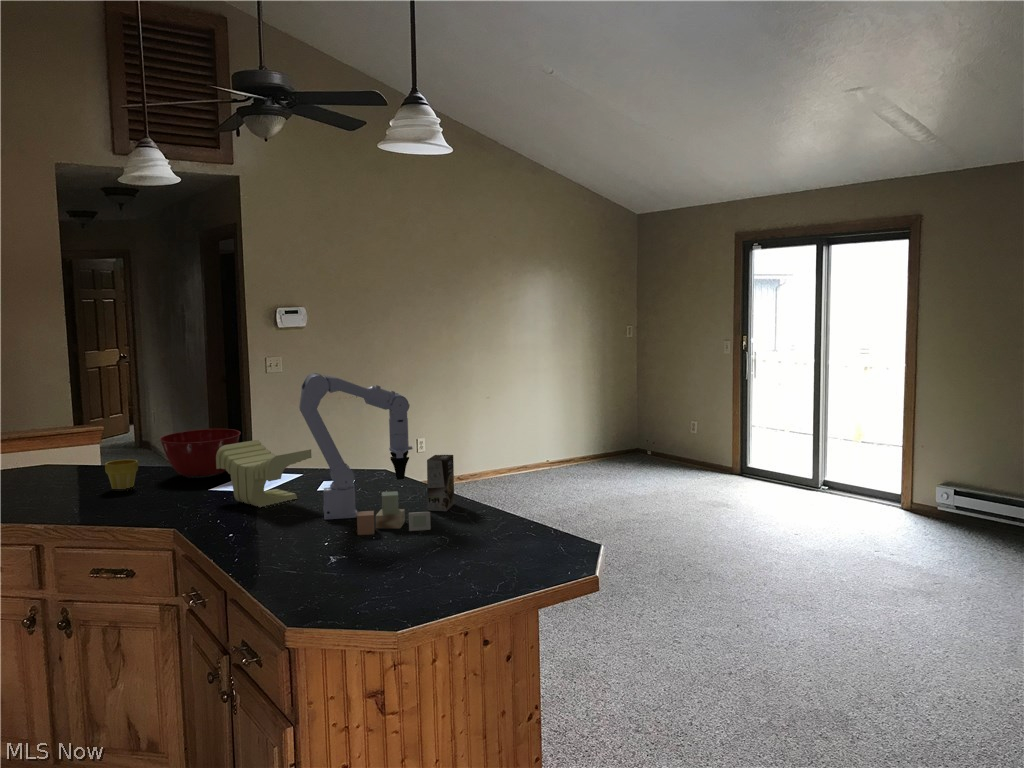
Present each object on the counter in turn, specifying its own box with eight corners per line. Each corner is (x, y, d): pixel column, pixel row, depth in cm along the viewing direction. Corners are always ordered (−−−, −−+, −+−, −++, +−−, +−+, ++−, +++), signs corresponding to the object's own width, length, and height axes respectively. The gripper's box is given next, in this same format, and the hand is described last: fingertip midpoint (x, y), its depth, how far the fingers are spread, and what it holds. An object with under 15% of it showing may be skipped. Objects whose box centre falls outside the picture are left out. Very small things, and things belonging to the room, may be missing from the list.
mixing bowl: (194, 487, 281) (192, 444, 279) (145, 478, 296) (143, 437, 294) (258, 471, 305) (256, 432, 303) (210, 464, 320) (208, 426, 318)
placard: (409, 531, 224) (408, 513, 223) (409, 529, 225) (408, 512, 224) (430, 529, 224) (430, 512, 224) (430, 528, 226) (429, 511, 225)
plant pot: (129, 484, 286) (128, 457, 285) (145, 488, 280) (143, 460, 279) (101, 490, 278) (99, 462, 277) (116, 494, 272) (114, 466, 270)
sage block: (382, 514, 227) (382, 495, 227) (382, 510, 232) (381, 492, 231) (398, 513, 228) (398, 495, 228) (398, 509, 233) (397, 491, 232)
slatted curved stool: (218, 499, 262) (215, 446, 260) (260, 490, 275) (258, 439, 273) (270, 514, 243) (267, 457, 241) (313, 503, 255) (311, 449, 254)
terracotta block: (357, 535, 221) (356, 516, 220) (358, 530, 225) (357, 511, 224) (374, 534, 221) (373, 515, 221) (374, 529, 226) (373, 510, 225)
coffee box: (447, 511, 243) (446, 460, 242) (427, 510, 245) (425, 459, 243) (455, 504, 252) (454, 454, 251) (435, 503, 254) (434, 453, 252)
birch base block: (375, 529, 227) (375, 515, 227) (381, 522, 234) (381, 509, 233) (400, 529, 226) (399, 515, 226) (405, 522, 233) (404, 509, 233)
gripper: (412, 436, 237) (414, 481, 239) (411, 429, 252) (412, 471, 253) (388, 437, 236) (390, 482, 238) (388, 429, 251) (390, 472, 252)
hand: (400, 476), depth 245 cm, fingers open, 7 cm apart
